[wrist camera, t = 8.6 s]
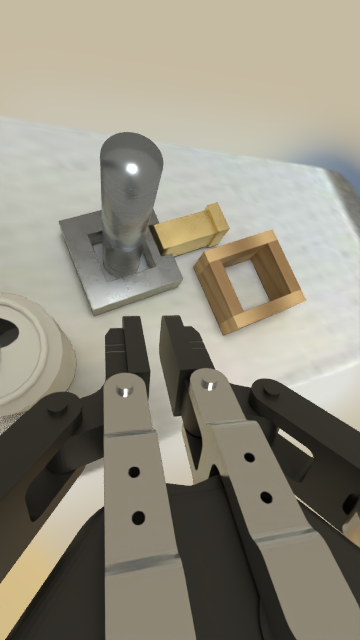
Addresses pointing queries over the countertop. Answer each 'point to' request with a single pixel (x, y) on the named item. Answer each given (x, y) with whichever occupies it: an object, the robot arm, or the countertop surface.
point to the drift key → (190, 231)
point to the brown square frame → (271, 274)
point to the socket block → (123, 290)
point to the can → (31, 355)
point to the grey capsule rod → (127, 198)
